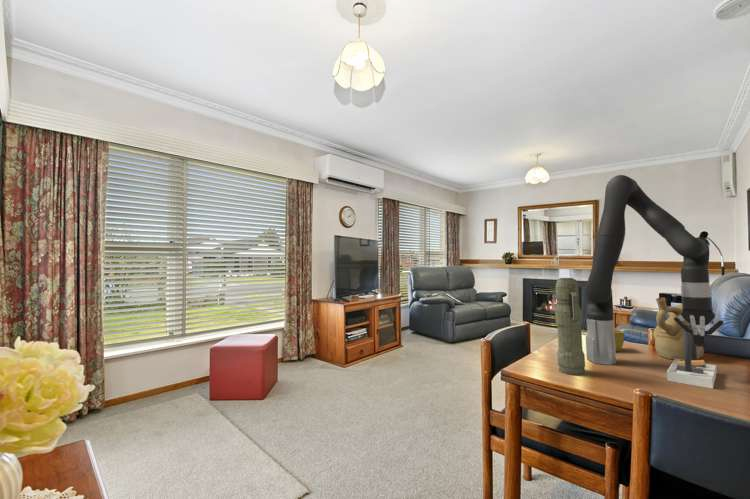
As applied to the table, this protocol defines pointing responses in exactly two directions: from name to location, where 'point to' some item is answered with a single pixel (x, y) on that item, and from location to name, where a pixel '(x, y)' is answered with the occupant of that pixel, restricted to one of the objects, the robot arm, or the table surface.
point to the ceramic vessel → (670, 333)
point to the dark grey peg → (687, 352)
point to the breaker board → (692, 374)
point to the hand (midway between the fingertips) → (699, 346)
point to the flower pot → (618, 339)
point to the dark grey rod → (692, 346)
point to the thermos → (569, 327)
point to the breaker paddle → (692, 362)
